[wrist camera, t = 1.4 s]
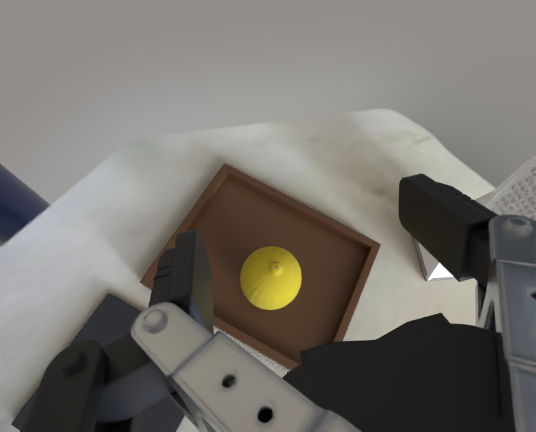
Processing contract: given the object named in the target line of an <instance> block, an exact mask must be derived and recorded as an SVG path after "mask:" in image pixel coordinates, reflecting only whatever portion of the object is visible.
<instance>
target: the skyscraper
mask: <svg viewBox="0 0 536 432" xmlns="http://www.w3.org/2000/svg"><path fill="white" fill-rule="evenodd" d="M475 201H476V202H478V203H480V204H481V205H483V206H485V207H486V208H488V209H489V210H491V211H493V212H494V213H496V214H498V215H499V216H500V215H508V214H512V215H521V216H526V217H529V218H532V219H535V220H536V155H534V156H533V157H532V158H531V159H529V160H528V161H527V162H526V163H524V164H523V165H522V166H521V167H520V168H518V169H517V170H516V171H515V172H514V173H513V174H512V175H511V176H509V177H508V178H507V179H506V180H505V181H504V182H503V183H502V184H501V185H500V186H499V187H498V188H496V189H495V190H494V191H492V192H490V193H488V194H486V195H484V196H482V197H480V198H478V199H476V200H475ZM413 240H414V243H415V247H416V250H417V254H418V257H419V260H420V264H421V267H422V271H423V274H424V278H425V281H432V280H444V279H455V277H454V276H453V275H452V274H450V273H449V272H448V271H447V270H446V269H445V268H444V267H443V266H442V265H441V264H440V263H439V262H438V261H437V260H436V259H435V258H434V257H433V256H432V255H431V254H430V253H429V252H428V251H427V250H426V249H425V248H424V247H423V246H422V245H421V244H420V243H419V242H418V241H417V240H416V239H415V238H414V237H413Z"/></svg>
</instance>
